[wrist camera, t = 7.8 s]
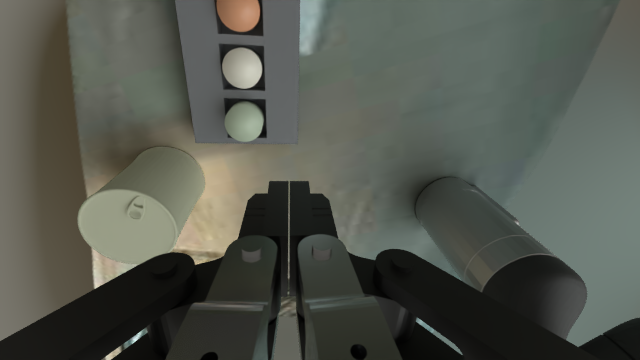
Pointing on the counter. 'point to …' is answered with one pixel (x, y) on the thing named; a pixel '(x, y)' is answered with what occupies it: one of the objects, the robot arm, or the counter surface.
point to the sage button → (244, 121)
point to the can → (143, 206)
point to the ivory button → (242, 67)
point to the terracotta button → (239, 14)
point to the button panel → (219, 95)
